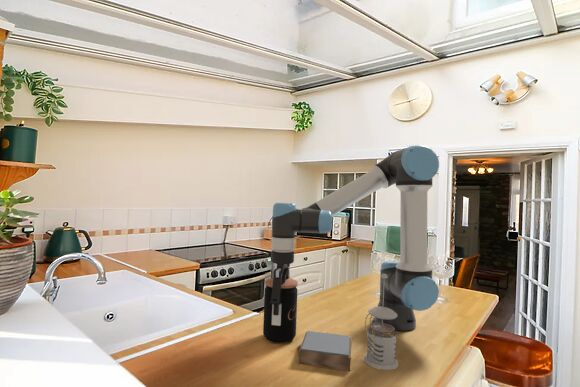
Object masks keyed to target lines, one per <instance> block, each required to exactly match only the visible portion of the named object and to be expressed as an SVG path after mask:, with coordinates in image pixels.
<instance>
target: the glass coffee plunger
mask: <svg viewBox="0 0 580 387" xmlns="http://www.w3.org/2000/svg"><path fill="white" fill-rule="evenodd" d="M381 278H384V280H385V278H388V276H387V274H382V275H381ZM383 304H384V285H383ZM369 315H370V318H369V324H368V327H369V329H368V328H367V319H368V317H369ZM397 316H398V315H397V313H395V312H394V311H393V310H391V309H389V308H387V307H381V306H380V307H377V306H374V307H372V308H370V309H369V310H368V314H367V315H366V317H365V322H364V323H365V324H364V326H365V327H364V328H365V331H366V335H367V348H366V349H367V350H366V354H365V355H364V356H363V358H362V359H363V361H364V363H365V364H366V365H368V366H370V367H372V368H375V369H378V370H384V371H387V370H388V371H389V370H395V369H397V368H398V367H399V362H398V360H397V359H396V346H397V345H396V343H397V333H396V332H395V331H396V330H395V328H394V327H393V326H392V325H389V324H386V323H383V319H395V318H396V317H397ZM374 318H380V319H382V323H379V322H375V321H374V322H372V321H371V320H372V319H374Z"/></svg>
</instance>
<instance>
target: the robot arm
mask: <svg viewBox="0 0 580 387" xmlns="http://www.w3.org/2000/svg"><path fill="white" fill-rule="evenodd" d="M439 168H440V160H439V158H438V155H437V153H436V152H435V151H434V150H433V149H432V148H430V147H429V146H426V145H421V144H419V145H418V144H417V145H411V146H408V147H406V148H403V149H399V150H396V151H394V152H393V153H390V154H389V155H388V156H386V157H385V158H384V159H382V160H381V161H380V162H378V163H376V164H374V165H373V166H372V167H371V170H369V171H368V172H366V173H364V174H362V175H361V176H359V177H357V178H356V179H354V180H352V181H350V182H348V183H347V184H345V185H343V186H341V187H339V188H338V189H337V190H335V191H333V192H331V193H329V194H328V195H326V196H323V198H320V199H318V200H317V201H316V202H314V203H312V204H310V205H309V206H307V207H304V208H303V207H302V208H301V209H299V208H297V205H296V204H295V202H291V203H290V202H275V203H274V204H273V207H272V216H271V221H272V222H271V239H269V243H271V245H270V246H271V251H270V261H271V263H272V264H276V268H274V270H273V277H272V278H273V286H272V295H271V301H270V304H272V325H278V326H280V325H281V295H282V288H281V285H283V284H284V283H285V280H287V279H288V278H291V277H290V266H291V264H293V263H294V262H295V251H294V250H295V249H296V248H295V246H296V245H295V244H296V243H295V242H296V237H295V236H296V235H295V234H296V233H305V234H306V233H309V234H310V233H312V234H320V235H321V234H329V233H330V232H331V231H332V229H333V225H334V224H333V217H334V216H335V215H338V213H340V212H342V211H344V210H345V209H347V208H349V207H351V206H353V205H354V204H356V203H357V202H360V201H361V200H363V199H364V198H366V197H369V196H371V194H374V193H375V192H377V191H379V190H381V189H382V188H383V189H387V188H389V187H391V186H392V185H395V187H396V188H397V189H398V190H399V192H400V204H399V205H400V213H399V214H400V220H399V221H400V234H399V237H400V251H399V253H400V255H399V256H400V257H399V258H400V260H399V261H383V262H382V263H381V264H380V265H381V266H380V270H379V271H380V272H379V273H380V277H379V278H380V279H379V280H380V281H379V300H378V302H377V306H376V307H380V306H381V307H387V308H389V309H391V310H393V311H394V312H395V313H397V315H398V316H397V317H396V318H395V319H383V323H386V324H389V325H392V326H393V327H394V328H395V331H411V330H414V329H415V328H416V327H417V318H416V316H415V315H416V314H415V311H417V312H422V311H426V310H429V309H430V308H432V306H433V305H435V304H436V303H437V301H438V298H439V293H440V290H439V285H438V284H437V282H436V281H435V280H434V279H433V267H432V266H431V265H430V264H429V263H428V192H429V190H430V189H431V188H433V178H434V177H435V176H436V174H437V173H438V172H439ZM382 274H387V276H388V278H385V280H384V278H381V275H382ZM383 285H384V304H383ZM275 299H277V300H275ZM373 321H374V322H379V323H382V319H380V318H374V317H373Z"/></svg>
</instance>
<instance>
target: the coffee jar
mask: <svg viewBox="0 0 580 387" xmlns="http://www.w3.org/2000/svg"><path fill="white" fill-rule="evenodd" d="M264 284H265V288H264V299H263V303H264V304H263V326H262V327H263V328H262V333H263V337H264V338H265V340H267V341H268V342H271V343H275V344H285V343H286V344H287V343H290V342H291V341H294V338H295V337H296V336H297V315H298V314H297V313H298V312H297V311H298V310H297V308H298V288H297V286H298V280H297V279H294V278H291V277H290V278H288V279H287V280H285V283H284V284H283V285H281V288H282V295H281V325H280V326H278V325H272V304H270V301H271V295H272V286H273V277H271V278H267V279H265V281H264ZM275 300H277V299H275Z"/></svg>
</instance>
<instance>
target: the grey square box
mask: <svg viewBox="0 0 580 387" xmlns="http://www.w3.org/2000/svg"><path fill="white" fill-rule="evenodd" d="M302 339H303V340H302V342H301V345H300V348H299V350H298V365H305V366H312V367H319V368H326V369H333V370H340V371H348V372H350V371H351V363H352V362H351V361H352V360H351V359H352V357H351V356H352V355H351V354H352V336H350V335H346V334H335V333H328V332H322V331H321V332H320V331H313V330H312V331H311V330H307V331H306V332H305V334H304V336H303V338H302Z"/></svg>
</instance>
